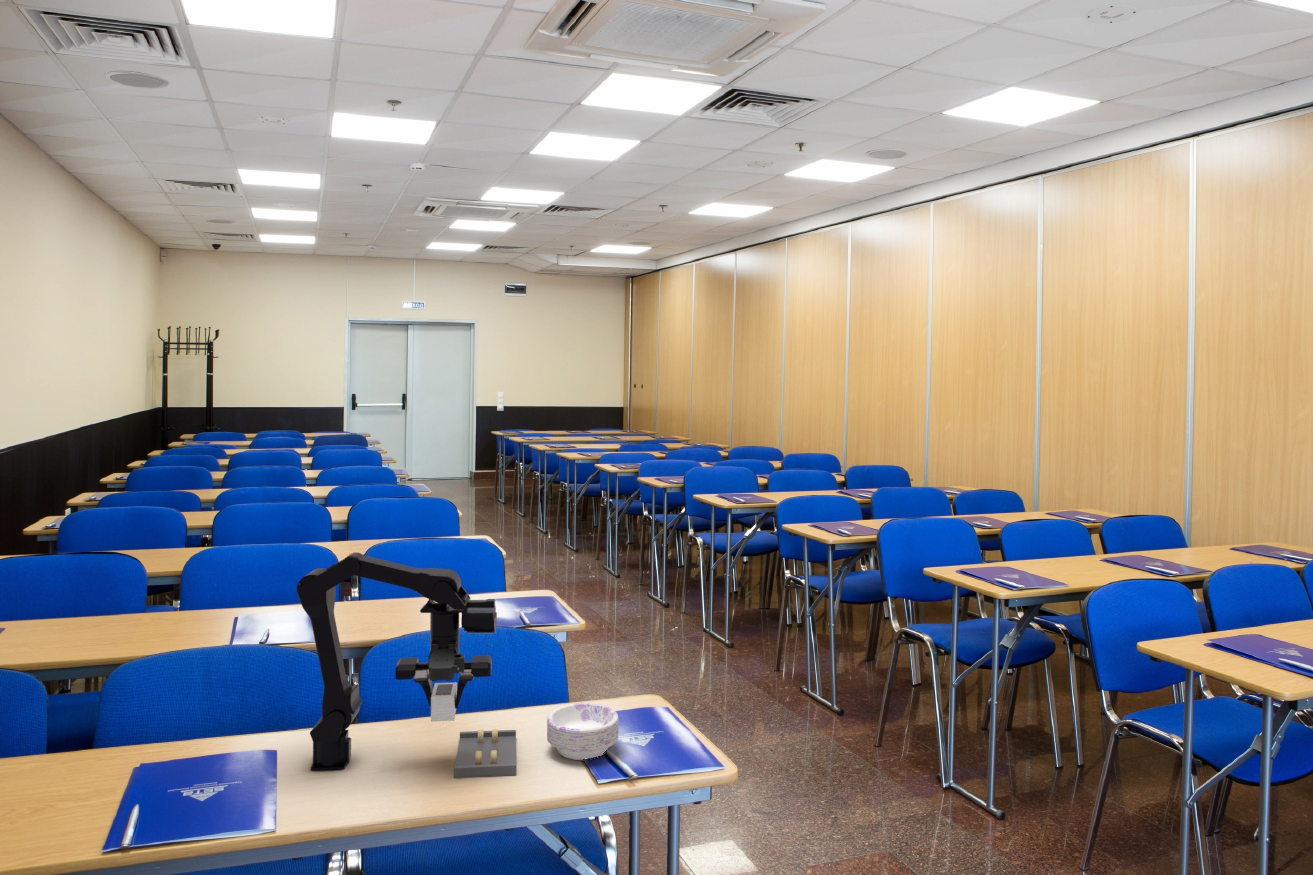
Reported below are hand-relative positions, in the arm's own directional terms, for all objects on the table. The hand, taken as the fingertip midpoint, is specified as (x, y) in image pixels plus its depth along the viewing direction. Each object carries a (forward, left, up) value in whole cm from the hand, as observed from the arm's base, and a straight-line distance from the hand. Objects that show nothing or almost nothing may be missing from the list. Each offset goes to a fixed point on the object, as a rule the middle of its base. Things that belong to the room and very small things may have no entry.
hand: (444, 708), depth 175 cm
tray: (+9, +2, -11) cm, 14 cm away
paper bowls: (+29, +3, -12) cm, 31 cm away
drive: (0, 0, -1) cm, 1 cm away
